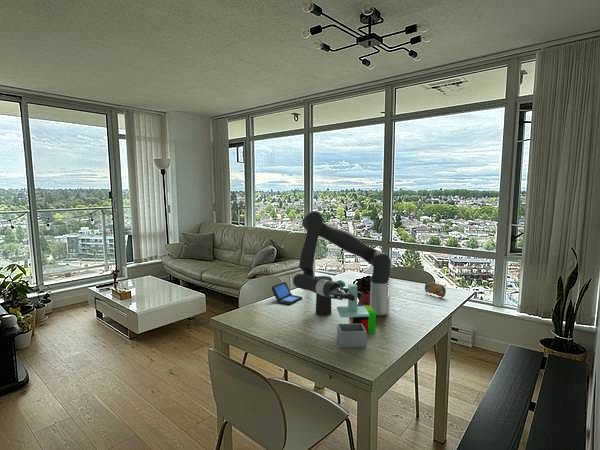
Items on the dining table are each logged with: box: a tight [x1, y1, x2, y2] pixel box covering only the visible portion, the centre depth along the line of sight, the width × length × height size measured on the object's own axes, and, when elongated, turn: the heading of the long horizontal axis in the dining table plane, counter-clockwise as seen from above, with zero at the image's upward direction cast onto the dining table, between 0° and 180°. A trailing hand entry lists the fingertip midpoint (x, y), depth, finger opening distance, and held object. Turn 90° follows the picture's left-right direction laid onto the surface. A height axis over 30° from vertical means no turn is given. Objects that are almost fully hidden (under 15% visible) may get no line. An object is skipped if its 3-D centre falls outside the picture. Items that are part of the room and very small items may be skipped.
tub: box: [336, 323, 368, 349], centre depth 147 cm, size 11×9×7 cm
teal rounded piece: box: [334, 279, 346, 288], centre depth 225 cm, size 18×7×8 cm, turn 42°
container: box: [315, 275, 333, 317], centre depth 183 cm, size 9×9×20 cm
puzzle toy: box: [348, 304, 377, 334], centre depth 162 cm, size 10×10×10 cm
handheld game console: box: [271, 281, 303, 306], centre depth 205 cm, size 16×13×9 cm
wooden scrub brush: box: [424, 281, 447, 298], centre depth 215 cm, size 15×3×8 cm, turn 25°
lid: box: [336, 283, 369, 318], centre depth 145 cm, size 12×10×12 cm
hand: (357, 296), depth 143 cm, fingers closed on lid, 4 cm apart
